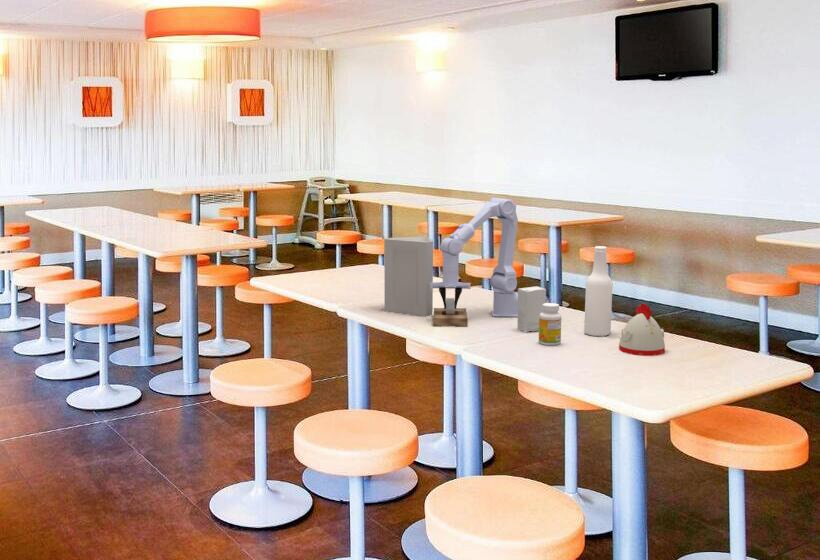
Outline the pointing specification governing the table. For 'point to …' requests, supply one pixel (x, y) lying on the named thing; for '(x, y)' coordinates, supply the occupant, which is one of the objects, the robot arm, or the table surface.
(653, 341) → the kitchen timer
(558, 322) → the supplement bottle
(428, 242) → the tall grey carton
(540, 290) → the skincare box
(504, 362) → the table surface
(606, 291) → the alcohol
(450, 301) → the brushed metal block
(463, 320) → the well block
